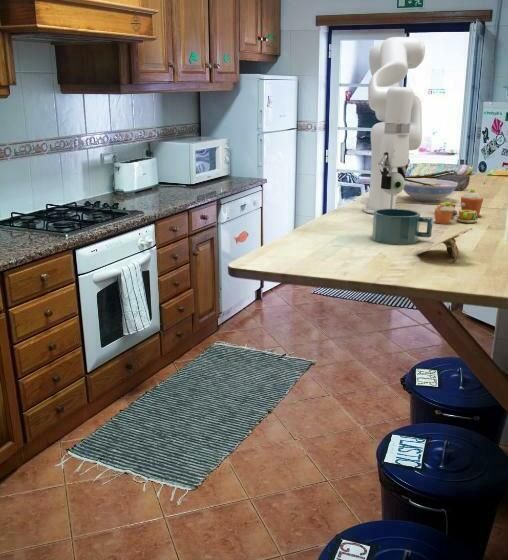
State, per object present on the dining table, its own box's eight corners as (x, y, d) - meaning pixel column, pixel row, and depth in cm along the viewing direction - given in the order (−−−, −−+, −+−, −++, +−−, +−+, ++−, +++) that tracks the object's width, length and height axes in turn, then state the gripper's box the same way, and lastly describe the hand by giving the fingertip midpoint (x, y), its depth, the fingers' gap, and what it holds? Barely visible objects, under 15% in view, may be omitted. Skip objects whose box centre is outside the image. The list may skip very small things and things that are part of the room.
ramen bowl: (470, 204, 249) (472, 183, 247) (421, 207, 241) (423, 185, 239) (431, 194, 271) (432, 175, 269) (385, 197, 263) (386, 177, 261)
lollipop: (385, 222, 197) (388, 173, 193) (375, 218, 204) (378, 170, 199) (405, 221, 199) (409, 173, 195) (395, 217, 205) (398, 170, 201)
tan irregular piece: (415, 274, 174) (407, 247, 175) (466, 261, 174) (458, 234, 175) (431, 267, 156) (423, 237, 157) (488, 253, 156) (480, 223, 157)
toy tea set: (437, 211, 233) (439, 184, 231) (482, 214, 228) (485, 187, 225) (428, 223, 210) (430, 194, 207) (477, 227, 205) (480, 197, 202)
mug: (370, 242, 182) (372, 215, 180) (373, 233, 194) (375, 207, 192) (431, 246, 178) (433, 218, 176) (430, 237, 190) (432, 210, 188)
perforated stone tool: (433, 189, 287) (434, 173, 285) (434, 187, 291) (435, 172, 289) (468, 191, 282) (470, 175, 280) (468, 190, 286) (470, 174, 284)
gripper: (401, 128, 202) (397, 184, 207) (370, 129, 190) (366, 189, 195) (422, 129, 197) (417, 186, 202) (392, 131, 185) (387, 191, 190)
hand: (392, 187), depth 198 cm, fingers closed on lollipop, 7 cm apart
